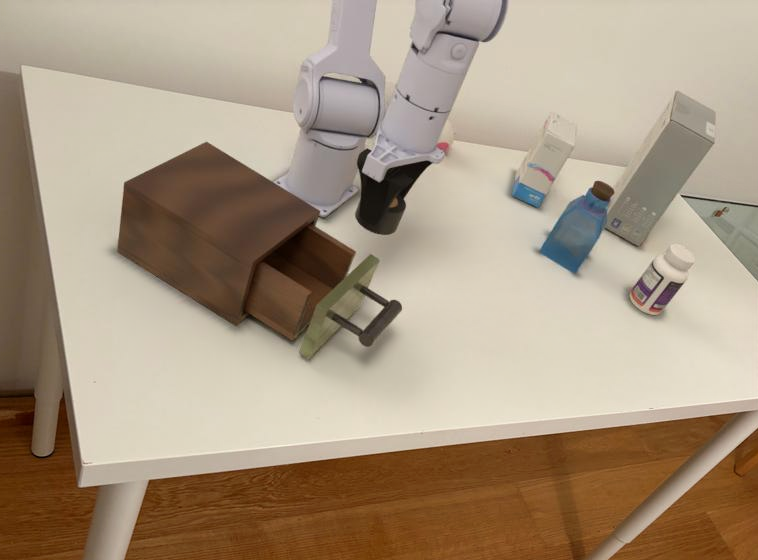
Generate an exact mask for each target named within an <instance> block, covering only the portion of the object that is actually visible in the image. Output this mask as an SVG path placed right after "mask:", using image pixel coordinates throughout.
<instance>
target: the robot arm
mask: <svg viewBox="0 0 758 560" xmlns="http://www.w3.org/2000/svg"><path fill="white" fill-rule="evenodd" d="M509 2H510V0H415V4H414V5H415V6H414V7H415V8H414V15H413V18H412V21H411V24H410V27H409V29H410V31H409V38H410V39H411V43H410V44H409V45H410V46H409V47H408V51H407V53H406V57H405V59H404V62H403V65H402V68H401V71H400V73H399V76H398V79H397V81H396V84H395V87H394V90H393V93H392V95H391V98H390V101H389V104H388V106H387V105H386V104H387V101H386V78H387V77H386V75H385V73H384V72H383V71H382V70H381V68H380V66H379V65H378V64H377V63H376V62H375V60H374V59H373V57H372V56H371V47H372V40H373V34H374V25H375V18H376V12H377V11H376V10H377V4H378V0H332V1H331V9H330V18H329V19H330V20H329V28H328V34H327V35H328V36H327V43H326V44H325V46H323V47H322V48H321V47H320V48H319V49H318V50H316V51H314V52H313V53H311V54H309V55H308V56H306V57H305V58H304V59H303V60H302V61H301V64H300V67H299V73H298V78H297V82H296V84H295V88H294V90H293V91H294V92H293V98H292V99H293V100H292V111H293V117H294V120H295V122H296V123H297V125H298V127H299V128H300V129H299V134H298V137H297V141H296V144H295V148H294V150H293V154H292V157H291V158H292V159H291V161H290V165H289V170H288V171H287V173H285V174H284V175H282V176H281V177H279V178H277V179H276V180H274V181H273V182H274V183H275V184H277V185H279V186H280V187H282V188H284V189H285V190H287V191H288V192H290V193H292V194H293V195H295V196H297V197H298V198H300V199H302V200H303V201H305V202H306V203H308V204H310V205H311V206H313V207H315V208H316V209H318V210H320V214H319V217H321V218H326V217H328V216H329V215H330V214H331V213H333V212H334V211H335V210H336V209H338V208H339V207H340V206H341V205H343V204H344V203H346V202H347V201H348V200H349V199H350V198H352V197H353V196H355V194H357V193H358V191H359V188H357V187H356V186H354V182H355V179H356V176H357V173H358V174H359V179H360V199H359V201H360V209H359V216H360V217H361V218H362V219H364V220H366V221H367V222H369V223H371V224H372V225H374V226H376V225H377V224H378V223H379V222H380V221H381V219H382V218H383V217H384V215H385V214H386V212H387V210H388V209H389V207H390V205H391V203H392V202H393V200H394V199H395V198H396V196H397V195H398V194H400V195H401V196H402V197H403V199H404V200H405V198H406V196H407V195H408V193H409V192H410V191H411V189H412V188H413V187H414V185H415V183H416V182H417V181H418V179H419V178H420V177H421V175H422V174H423V173H424V172H425V171H426V170H427V169H428V167H430V166H432V165H433V164H434V165H438V164H440V163H441V162H442V161H443V160H444V159H445V155H446V153H445V152H444V150H443V151H442V150H440V149H439V148H438V147H437V143H438V140H439V137H440V135H441V133H442V130H443V128H444V126H445V123H446V121H447V119H449V116H450V115H451V113H452V109H453V107H454V105H455V103H456V99H457V98H458V96H459V93H460V91H461V88H462V87H463V83H464V82H465V78H466V77H467V75H468V72H469V70H470V67H471V66H472V62H473V60H474V58H475V56H476V53H477V51H478V49H479V46H480V42H481V43H489V42H491V41H492V40H494V39H495V38H496V37H497V36H498V34H499V32H500V31H501V29H502V27H503V25H504V24H505V20H506V17H507V13H508V10H509ZM326 74H336V75H342V76H347V77H353V78H356V79H358V80H359V81H352V80H347V79H342V78H336V77H329V76H325V75H326ZM373 138H374V141H373V142H374V143H373V146H372V150H371V149H370V148H368V147H367V148H366V141H367V139H373Z"/></svg>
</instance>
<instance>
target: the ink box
mask: <svg viewBox="0 0 758 560" xmlns="http://www.w3.org/2000/svg"><path fill="white" fill-rule="evenodd" d="M577 127H578V125H577V124H576V123H574V122H572V121H570V120H568V119H567V118H565V117H564V116H561V115H560V114H557V113H556V112H554V111H551V112H549V114H548V115H547V118H546V120H545V121H544V122H543V125H542V127H541V128H540V130H539V132H538V134H537V135H536V137H535V138H534V140H533V143H532V144H531V146H530V148H529V149H528V152H527V153H526V155H525V157H524V159H523V160H522V163H521V164H520V166H519V168H518V169H517V171H516V173H515V177H514V182H513V187H512V191H511V196H512V197H513V198H516V199H518V200H521V201H522V202H525V203H527V204H529V205H531V206H533V207H536V208H537V209H538V208H539V207H540V206H541V203H542V202H543V201H544V198H546V196H547V193H548V192H549V190H550V189H551V187H552V185H553V184H554V182H555V180H556V179H557V177H558V175H559V174H560V172H561V170H562V169H563V167H564V166H565V164H566V162H567V160H568V159H569V158H570V156H571V154H572V152H573V151H574V148H575V147H576V138H577V129H578V128H577Z"/></svg>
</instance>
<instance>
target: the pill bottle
mask: <svg viewBox="0 0 758 560" xmlns="http://www.w3.org/2000/svg"><path fill="white" fill-rule="evenodd" d="M695 262H696V257H695V255H694V254H693V252H692V251H691V250H690V249H688V248H687V247H685V246H683V245H682V244H679V243H672V244H670V245H669V247H668V248H667V249H666V251H665V252H664V253H662V254H658V255H656V256H655V257H654V258H653V259H652V261H651V262H650V264H649V265H648V266H647V268H646V269H645V271H644V272H643V274H641V276H640V277H639V279H637V282H635V284H634V285H633V287H632V288H631V290H630V291H629V300H630V301H631V303H632V305H633V306H634V307H635V308H637V309H638V310H639V311H641V312H643V313H645V314H647V315H651V316H657V315H659V314H661V313H662V312H663V311H664V309H665V308H666V307H667V306H668V304H669V303H670V302H671V301H672V299H673V298H675V296H676V294H677V293H678V291H680V290H681V288H682V287H683V286H684V284H685V282H687V280H688V278H689V270H690V269H691V268H692V266H693V265H694V263H695Z"/></svg>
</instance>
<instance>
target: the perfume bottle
mask: <svg viewBox="0 0 758 560" xmlns="http://www.w3.org/2000/svg"><path fill="white" fill-rule="evenodd" d="M613 188H614V187H612V186H611V185H609V184H608V183H607V182H604V181H602V180H595V181H594V183H593V185H592V187H589V188H588V190H587V191H586V193H585V194H582V195H580V196H578V197H576V198H575V199H573V200H571V201H569V202H568V204H567V206H566V207H565V209H564V210H563V211H562V212H561V214H560V216H559V217H558V218H557V221H556V222H555V224H554V226H553V228H552V229H551V231H550V232H549V234H548V236H547V237H546V239H545V240H544V242H543V244H542V245H541V247H540V249H539V250H538V253H540V254H541V255H543V256H544V257H546V258H547V259H549V260H551V261H553V262H554V263H556V264H557V265H559V266H560V267H563V268H564V269H566V270H567V271H568V272H571V273H572V274H574V275H576V274H577V272H578V271H579V269H580V268H581V266H582V265H583V264H584V262H585V260H587V259H586V258H587V257H588V256H589V254H590V253H591V252H592V250H593V249H594V247H595V245H596V244H597V243H598V241H599V239H600V237H601V235H602V233H603V232H604V230H605V229H606V228H605V226H606V224H607V209H606V207H607V206H608V205H609V203H610V202H611V199H610V198H611V197H612V196H613V195H614V193H615V192H614V190H613Z"/></svg>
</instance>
